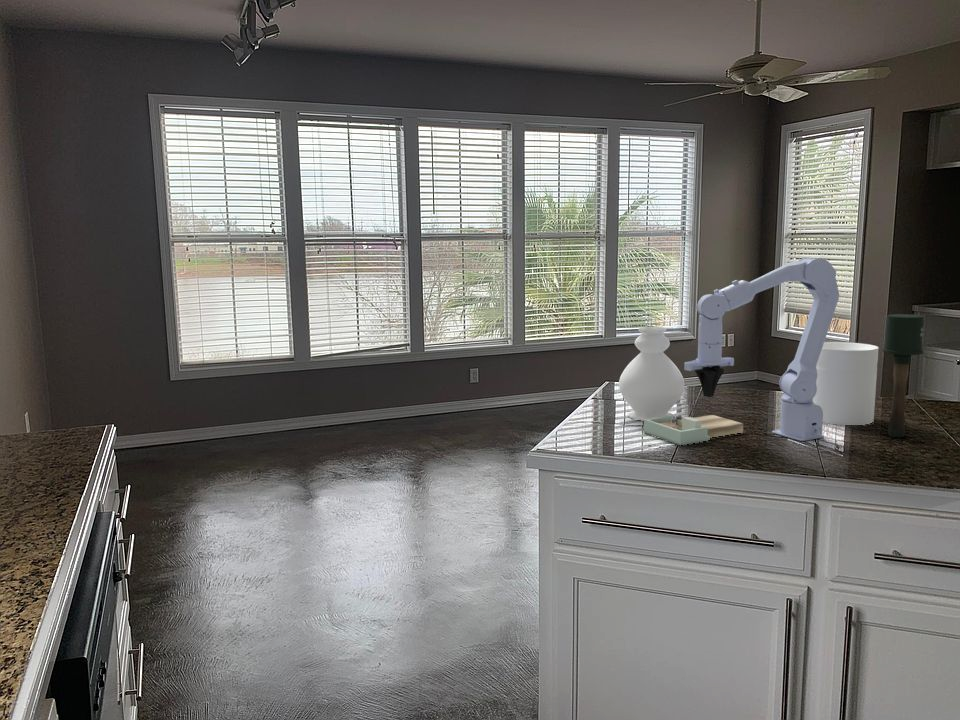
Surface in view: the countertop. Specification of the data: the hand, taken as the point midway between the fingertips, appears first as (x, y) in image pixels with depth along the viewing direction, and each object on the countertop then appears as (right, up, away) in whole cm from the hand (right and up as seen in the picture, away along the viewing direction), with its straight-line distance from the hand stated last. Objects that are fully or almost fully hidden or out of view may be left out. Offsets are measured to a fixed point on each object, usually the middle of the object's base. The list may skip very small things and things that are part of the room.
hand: (708, 396), depth 185 cm
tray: (-8, -10, 0) cm, 13 cm away
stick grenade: (+45, -10, -4) cm, 46 cm away
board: (+2, -9, +4) cm, 10 cm away
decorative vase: (-10, -7, +21) cm, 24 cm away
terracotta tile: (-11, -7, +2) cm, 13 cm away
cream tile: (-4, -8, -2) cm, 9 cm away
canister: (+41, -7, +15) cm, 44 cm away
